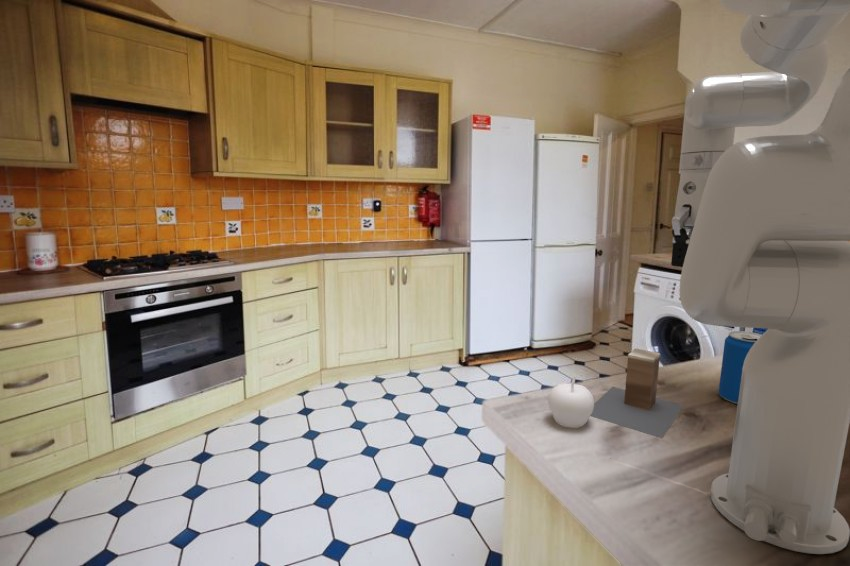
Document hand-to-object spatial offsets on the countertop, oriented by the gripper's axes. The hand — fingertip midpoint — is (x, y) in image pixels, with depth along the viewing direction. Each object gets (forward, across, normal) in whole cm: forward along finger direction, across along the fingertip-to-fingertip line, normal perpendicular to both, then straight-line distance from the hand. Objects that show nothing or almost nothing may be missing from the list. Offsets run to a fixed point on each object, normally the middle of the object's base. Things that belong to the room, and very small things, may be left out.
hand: (694, 263), depth 81 cm
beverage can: (+24, +3, -9) cm, 26 cm away
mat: (+24, -15, +1) cm, 28 cm away
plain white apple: (+24, -27, +5) cm, 37 cm away
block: (+23, -12, +1) cm, 26 cm away
